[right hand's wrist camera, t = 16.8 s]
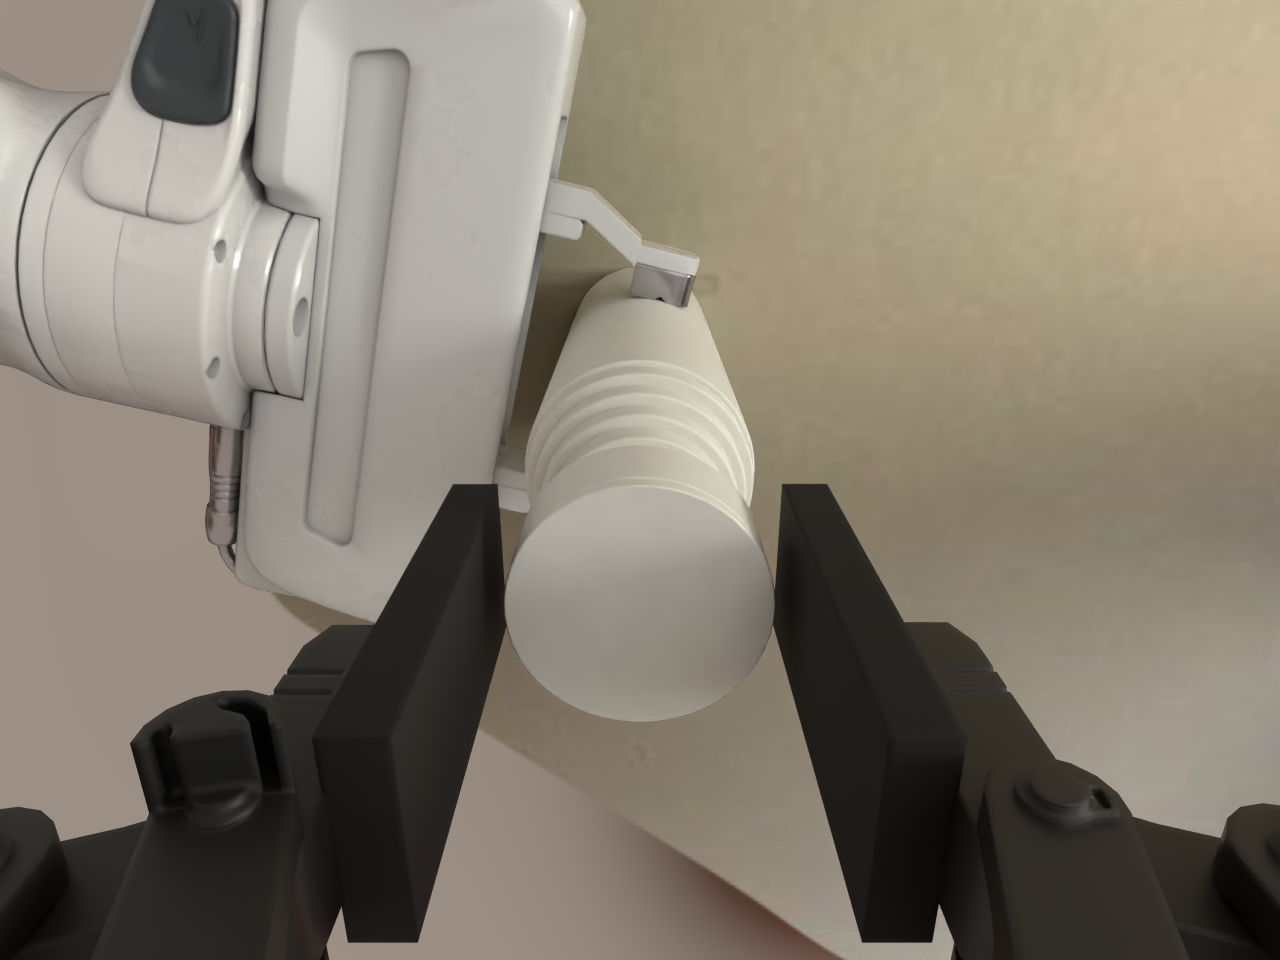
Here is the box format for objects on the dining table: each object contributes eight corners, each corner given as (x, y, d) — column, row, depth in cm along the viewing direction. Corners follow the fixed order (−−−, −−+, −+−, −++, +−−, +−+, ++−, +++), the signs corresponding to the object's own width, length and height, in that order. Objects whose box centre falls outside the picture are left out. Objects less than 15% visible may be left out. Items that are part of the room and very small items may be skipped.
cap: (632, 392, 13) (631, 427, 12) (809, 551, 14) (832, 605, 13) (470, 563, 15) (447, 617, 13) (645, 698, 16) (646, 765, 14)
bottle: (725, 366, 33) (841, 660, 14) (608, 417, 33) (567, 762, 15) (673, 243, 31) (726, 391, 12) (551, 300, 32) (422, 521, 13)
